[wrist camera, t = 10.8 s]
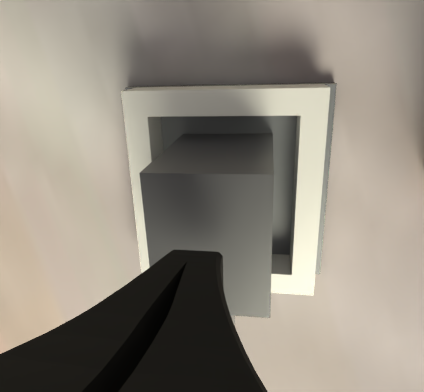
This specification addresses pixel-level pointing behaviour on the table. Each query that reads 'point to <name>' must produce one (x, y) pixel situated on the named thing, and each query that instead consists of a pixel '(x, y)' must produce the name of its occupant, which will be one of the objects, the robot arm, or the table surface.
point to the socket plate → (248, 123)
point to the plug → (216, 210)
